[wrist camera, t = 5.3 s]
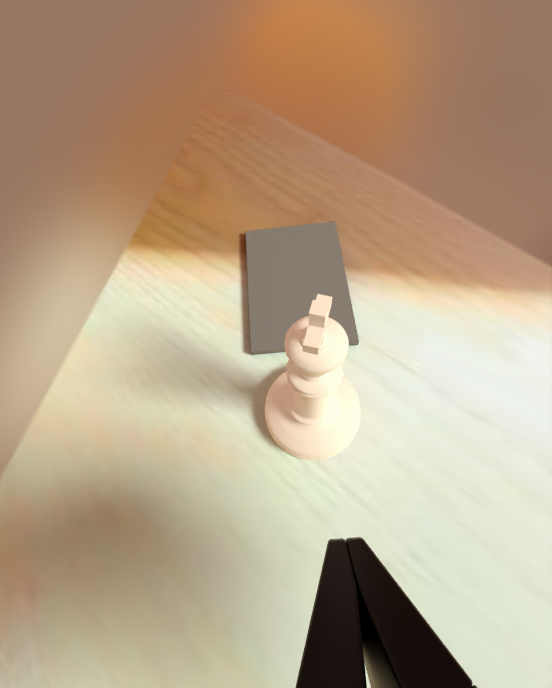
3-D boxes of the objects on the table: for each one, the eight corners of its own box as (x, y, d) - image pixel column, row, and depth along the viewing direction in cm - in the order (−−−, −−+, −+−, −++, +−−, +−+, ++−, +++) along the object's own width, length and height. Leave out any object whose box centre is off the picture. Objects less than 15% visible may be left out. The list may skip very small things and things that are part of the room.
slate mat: (357, 344, 19) (358, 341, 19) (251, 354, 20) (250, 352, 19) (334, 225, 23) (334, 221, 23) (246, 235, 24) (245, 231, 23)
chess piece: (252, 444, 17) (197, 370, 8) (279, 357, 19) (258, 224, 10) (349, 473, 16) (403, 424, 8) (367, 379, 18) (427, 252, 10)
